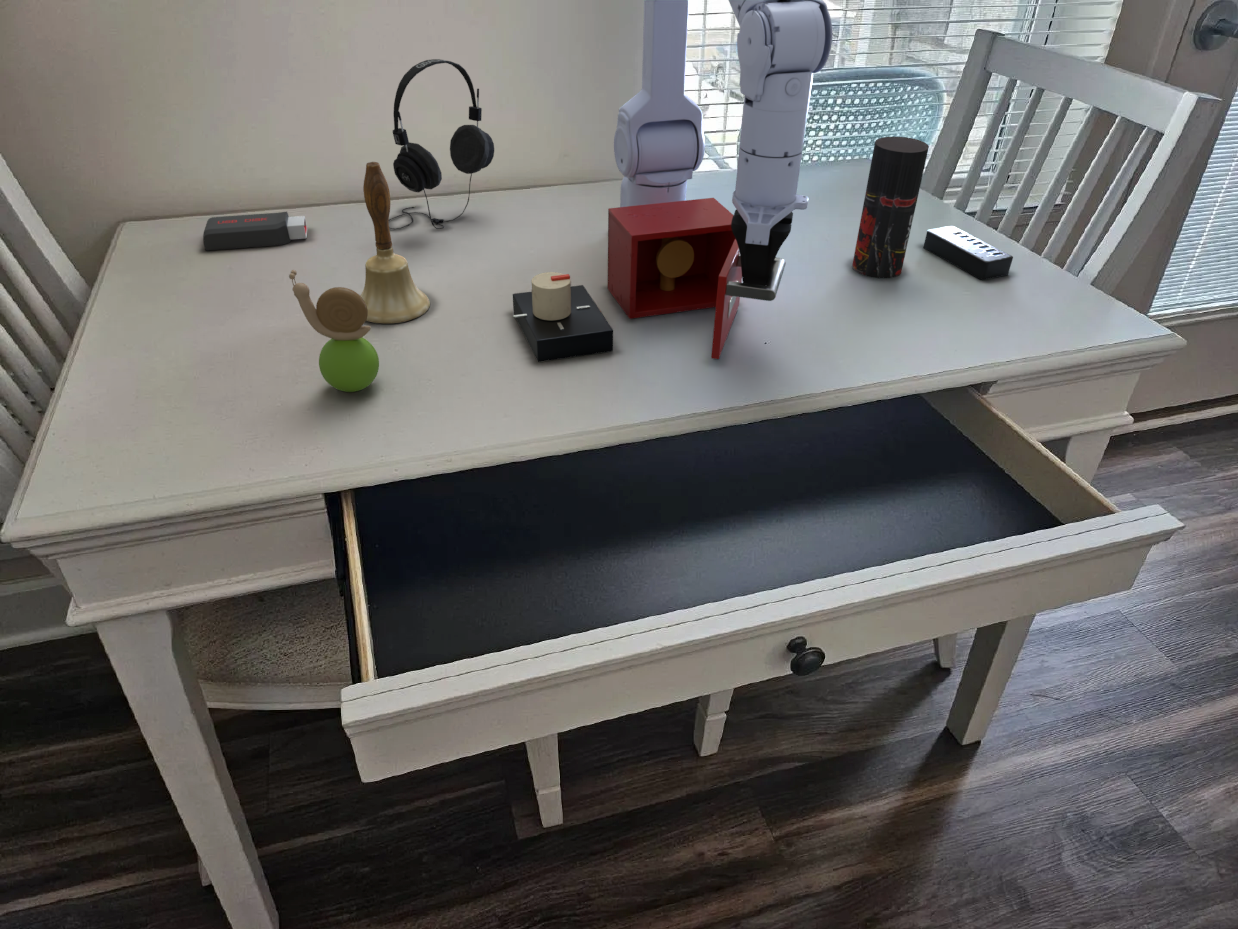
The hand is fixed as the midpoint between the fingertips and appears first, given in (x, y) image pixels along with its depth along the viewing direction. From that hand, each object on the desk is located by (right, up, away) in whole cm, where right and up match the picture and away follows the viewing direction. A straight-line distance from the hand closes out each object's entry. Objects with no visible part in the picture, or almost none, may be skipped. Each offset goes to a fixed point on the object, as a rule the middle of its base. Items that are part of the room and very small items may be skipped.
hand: (754, 285), depth 89 cm
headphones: (-38, +15, +31) cm, 52 cm away
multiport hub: (+30, +8, +23) cm, 38 cm away
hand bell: (-39, -1, +10) cm, 40 cm away
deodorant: (+18, +6, +20) cm, 28 cm away
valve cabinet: (-8, +1, +13) cm, 15 cm away
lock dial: (-21, -2, +4) cm, 21 cm away
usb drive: (-60, +11, +24) cm, 65 cm away
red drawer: (0, -4, +5) cm, 7 cm away
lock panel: (-20, -4, +6) cm, 21 cm away
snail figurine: (-39, -11, -4) cm, 41 cm away
